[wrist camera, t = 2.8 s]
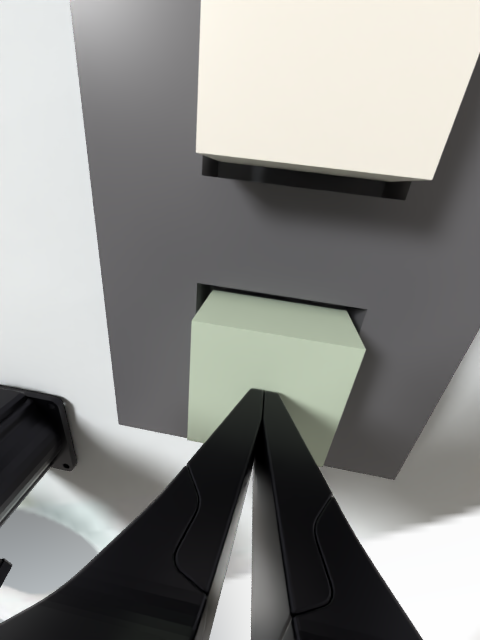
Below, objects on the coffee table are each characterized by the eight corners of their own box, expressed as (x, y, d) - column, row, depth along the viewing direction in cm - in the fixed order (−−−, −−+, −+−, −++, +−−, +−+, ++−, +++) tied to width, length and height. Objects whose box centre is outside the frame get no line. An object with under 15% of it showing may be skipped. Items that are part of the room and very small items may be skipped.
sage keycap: (315, 412, 11) (322, 467, 9) (205, 391, 12) (187, 439, 10) (346, 310, 9) (365, 349, 7) (212, 289, 10) (191, 320, 8)
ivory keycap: (388, 181, 8) (432, 179, 5) (221, 161, 8) (195, 152, 6) (470, -80, 5) (597, -262, 3) (238, -90, 6) (209, -262, 4)
